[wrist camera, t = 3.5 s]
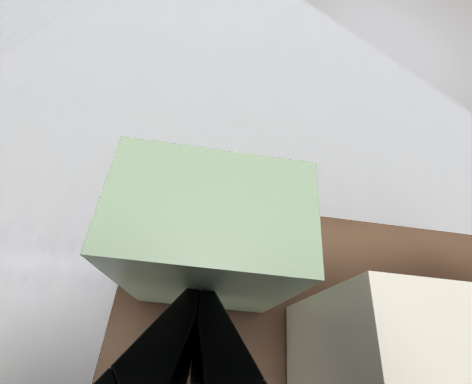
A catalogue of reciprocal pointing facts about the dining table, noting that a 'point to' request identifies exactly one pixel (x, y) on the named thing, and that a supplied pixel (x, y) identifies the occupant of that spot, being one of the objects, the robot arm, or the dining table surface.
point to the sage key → (207, 225)
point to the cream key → (382, 332)
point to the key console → (335, 271)
